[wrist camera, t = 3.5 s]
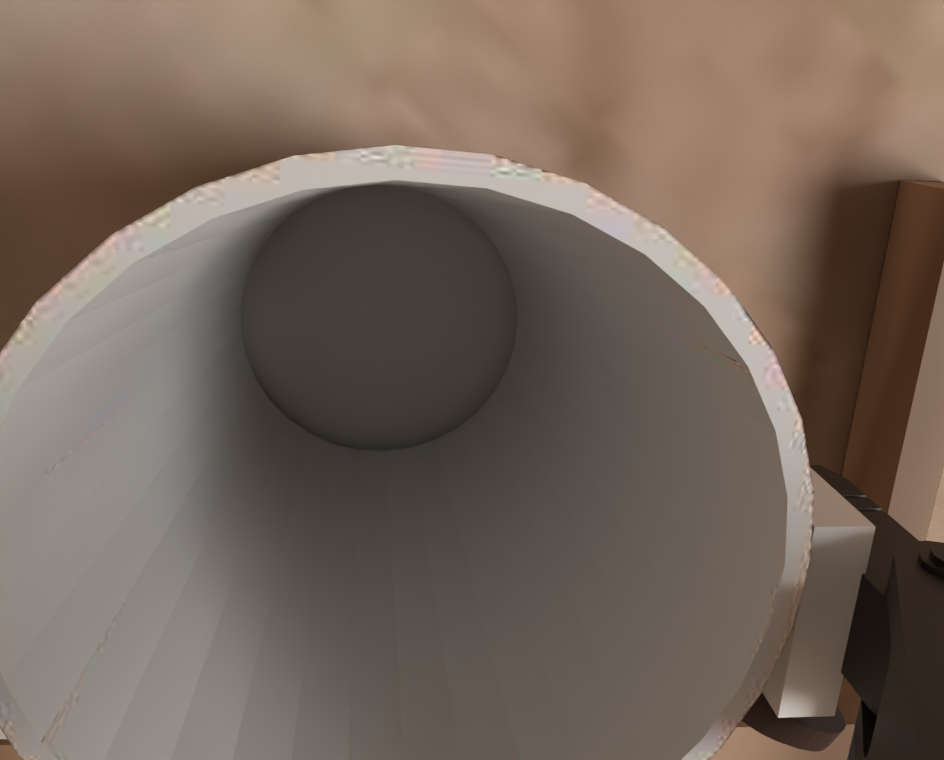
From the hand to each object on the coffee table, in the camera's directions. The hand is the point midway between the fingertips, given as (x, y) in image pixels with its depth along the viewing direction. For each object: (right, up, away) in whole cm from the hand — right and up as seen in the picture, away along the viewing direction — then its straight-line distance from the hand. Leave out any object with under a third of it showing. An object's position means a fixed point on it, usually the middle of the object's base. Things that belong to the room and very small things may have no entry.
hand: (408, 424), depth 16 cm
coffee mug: (0, +1, +3) cm, 3 cm away
